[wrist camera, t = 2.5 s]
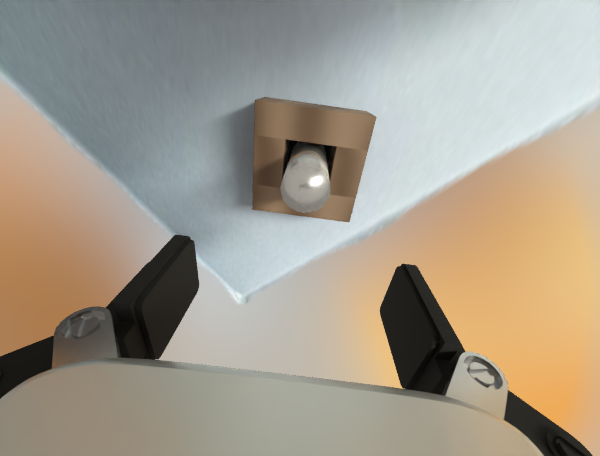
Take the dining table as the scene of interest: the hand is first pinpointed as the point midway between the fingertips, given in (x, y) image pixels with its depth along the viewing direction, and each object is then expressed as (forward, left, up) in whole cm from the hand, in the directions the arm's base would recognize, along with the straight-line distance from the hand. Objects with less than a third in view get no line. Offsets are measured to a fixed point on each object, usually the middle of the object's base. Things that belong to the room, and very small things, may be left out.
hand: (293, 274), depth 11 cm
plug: (0, 0, -21) cm, 21 cm away
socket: (0, 0, -21) cm, 21 cm away
